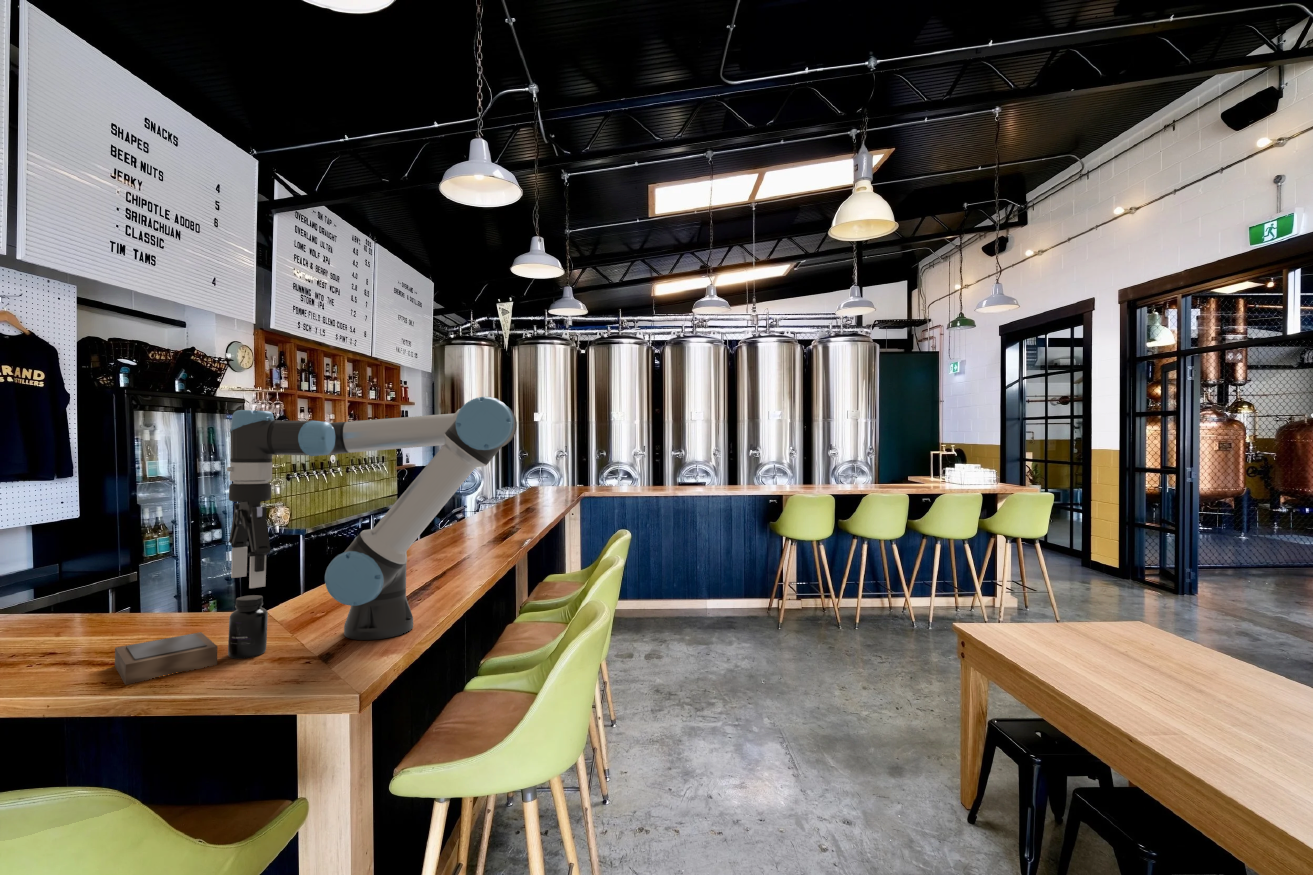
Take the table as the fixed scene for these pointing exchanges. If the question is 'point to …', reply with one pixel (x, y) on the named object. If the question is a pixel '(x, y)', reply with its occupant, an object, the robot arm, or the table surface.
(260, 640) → the supplement bottle
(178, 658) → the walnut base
